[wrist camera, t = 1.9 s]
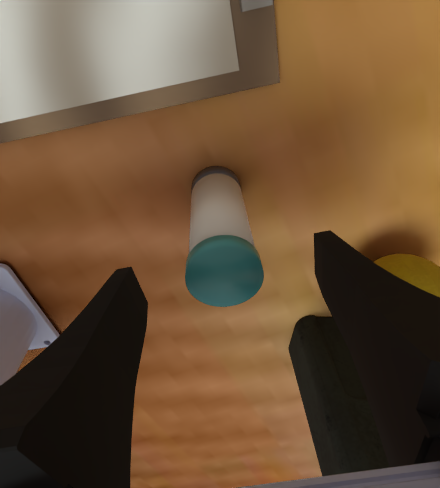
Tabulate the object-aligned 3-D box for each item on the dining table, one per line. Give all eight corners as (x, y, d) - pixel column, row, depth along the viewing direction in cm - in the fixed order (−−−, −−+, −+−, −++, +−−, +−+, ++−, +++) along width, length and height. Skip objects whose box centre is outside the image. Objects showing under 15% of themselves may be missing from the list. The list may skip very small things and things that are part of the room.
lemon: (331, 248, 22) (389, 348, 15) (417, 218, 21) (518, 312, 14) (345, 301, 25) (398, 404, 18) (421, 277, 24) (505, 377, 17)
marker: (196, 216, 20) (195, 312, 13) (184, 170, 18) (176, 255, 12) (245, 206, 20) (267, 299, 13) (237, 159, 18) (258, 240, 12)
